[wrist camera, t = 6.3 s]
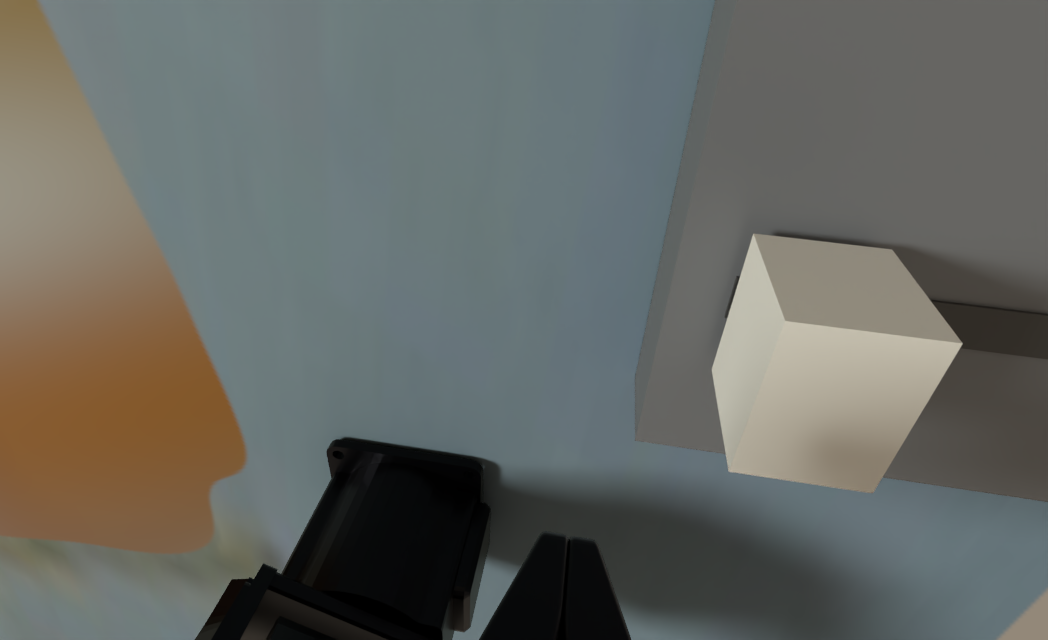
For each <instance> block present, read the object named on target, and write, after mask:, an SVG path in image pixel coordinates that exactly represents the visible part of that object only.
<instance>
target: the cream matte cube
mask: <svg viewBox="0 0 1048 640" xmlns="http://www.w3.org/2000/svg"><path fill="white" fill-rule="evenodd" d="M962 344H963V343H962V342H961V341H960V339H959V338H958V337H957V335H956V334H955V333H954V331H953V330H952V329H951V327H950V326H949V325H948V323H947V322H946V321H945V319H944V318H943V317H942V315H941V314H940V313H939V311H938V310H937V309H936V307H935V306H934V305H933V303H932V302H931V301H930V299H929V298H928V297H927V295H926V294H925V293H924V291H923V290H922V289H921V287H920V286H919V285H918V283H917V282H916V281H915V279H914V278H913V277H912V275H911V274H910V273H909V271H908V270H907V269H906V267H905V266H904V265H903V263H902V262H901V261H900V259H899V258H898V257H897V255H896V254H895V253H894V251H893V250H892V249H884V248H875V247H866V246H858V245H849V244H840V243H832V242H823V241H814V240H806V239H797V238H788V237H780V236H771V235H762V234H753V236H752V240H751V243H750V246H749V249H748V253H747V256H746V259H745V262H744V266H743V269H742V272H741V275H740V279H739V282H738V285H737V288H736V292H735V295H734V298H733V302H732V305H731V308H730V311H729V315H728V318H727V321H726V324H725V328H724V331H723V334H722V337H721V341H720V344H719V347H718V350H717V354H716V357H715V360H714V363H713V367H712V375H713V381H714V387H715V393H716V399H717V405H718V411H719V417H720V423H721V429H722V435H723V441H724V447H725V453H726V459H727V465H728V471H729V472H735V473H742V474H748V475H755V476H761V477H768V478H775V479H781V480H788V481H794V482H801V483H808V484H814V485H821V486H828V487H834V488H841V489H847V490H854V491H861V492H867V493H873V492H874V490H875V489H876V487H877V485H878V484H879V482H880V480H881V479H882V477H883V475H884V474H885V472H886V470H887V469H888V467H889V466H890V464H891V462H892V461H893V459H894V457H895V456H896V454H897V452H898V451H899V449H900V447H901V446H902V444H903V442H904V441H905V439H906V437H907V436H908V434H909V432H910V431H911V429H912V427H913V426H914V424H915V422H916V421H917V419H918V417H919V416H920V414H921V412H922V411H923V409H924V407H925V406H926V404H927V402H928V401H929V399H930V397H931V396H932V394H933V392H934V391H935V389H936V387H937V386H938V384H939V382H940V381H941V379H942V377H943V376H944V374H945V372H946V371H947V369H948V367H949V366H950V364H951V362H952V361H953V359H954V357H955V356H956V354H957V353H958V351H959V349H960V348H961V346H962Z"/></svg>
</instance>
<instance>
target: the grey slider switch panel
mask: <svg viewBox="0 0 1048 640" xmlns="http://www.w3.org/2000/svg"><path fill="white" fill-rule="evenodd" d="M753 234H762V235H771V236H780V237H788V238H797V239H806V240H814V241H823V242H832V243H840V244H849V245H858V246H866V247H875V248H884V249H892V250H893V251H894V253H895V254H896V255H897V257H898V258H899V259H900V261H901V262H902V263H903V265H904V266H905V267H906V269H907V270H908V271H909V273H910V274H911V275H912V277H913V278H914V279H915V281H916V282H917V283H918V285H919V286H920V287H921V289H922V290H923V291H924V293H925V294H926V295H927V297H928V298H929V299H930V301H931V302H932V303H933V305H934V306H935V307H936V309H937V310H938V311H939V313H940V314H941V315H942V317H943V318H944V319H945V321H946V322H947V323H948V325H949V326H950V327H951V329H952V330H953V331H954V333H955V334H956V335H957V337H958V338H959V339H960V341H961V342H962V343H963V344H962V346H961V348H960V349H959V351H958V353H957V354H956V356H955V357H954V359H953V361H952V362H951V364H950V366H949V367H948V369H947V371H946V372H945V374H944V376H943V377H942V379H941V381H940V382H939V384H938V386H937V387H936V389H935V391H934V392H933V394H932V396H931V397H930V399H929V401H928V402H927V404H926V406H925V407H924V409H923V411H922V412H921V414H920V416H919V417H918V419H917V421H916V422H915V424H914V426H913V427H912V429H911V431H910V432H909V434H908V436H907V437H906V439H905V441H904V442H903V444H902V446H901V447H900V449H899V451H898V452H897V454H896V456H895V457H894V459H893V461H892V462H891V464H890V466H889V467H888V469H887V470H886V472H885V474H884V475H883V477H884V478H891V479H898V480H904V481H911V482H918V483H924V484H931V485H938V486H945V487H951V488H958V489H965V490H971V491H978V492H985V493H992V494H998V495H1005V496H1012V497H1019V498H1025V499H1032V500H1039V501H1045V502H1048V0H715V4H714V9H713V13H712V18H711V23H710V28H709V32H708V37H707V42H706V46H705V51H704V56H703V61H702V65H701V70H700V75H699V79H698V84H697V89H696V93H695V98H694V103H693V108H692V112H691V117H690V122H689V126H688V131H687V136H686V140H685V145H684V150H683V155H682V159H681V164H680V169H679V173H678V178H677V183H676V187H675V192H674V197H673V202H672V206H671V211H670V216H669V220H668V225H667V230H666V234H665V239H664V244H663V249H662V253H661V258H660V263H659V267H658V272H657V277H656V281H655V286H654V291H653V296H652V300H651V305H650V310H649V314H648V319H647V324H646V328H645V333H644V338H643V343H642V347H641V352H640V357H639V361H638V366H637V371H636V375H635V441H642V442H649V443H655V444H662V445H669V446H676V447H682V448H689V449H696V450H703V451H709V452H716V453H723V454H726V453H725V447H724V441H723V435H722V429H721V423H720V417H719V411H718V405H717V399H716V393H715V387H714V381H713V375H712V367H713V363H714V360H715V357H716V354H717V350H718V347H719V344H720V341H721V337H722V334H723V331H724V328H725V324H726V321H727V318H728V315H729V311H730V308H731V305H732V302H733V298H734V295H735V292H736V288H737V285H738V282H739V279H740V275H741V272H742V269H743V266H744V262H745V259H746V256H747V253H748V249H749V246H750V243H751V240H752V236H753Z"/></svg>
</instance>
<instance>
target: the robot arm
mask: <svg viewBox="0 0 1048 640" xmlns="http://www.w3.org/2000/svg"><path fill="white" fill-rule="evenodd" d="M327 457H328V462H329V467H330V472H331V478H332V479H331V481H330V482H329V484H328V486H327V488H326V490H325V492H324V494H323V496H322V498H321V499H320V501H319V503H318V505H317V507H316V509H315V511H314V513H313V515H312V517H311V518H310V520H309V522H308V524H307V526H306V528H305V530H304V532H303V534H302V535H301V537H300V539H299V541H298V543H297V545H296V547H295V549H294V551H293V552H292V554H291V556H290V558H289V560H288V562H287V564H286V566H285V568H284V569H283V571H282V573H281V574H280V573H277V570H278V569H275V568H273V567H271V566H268V565H266V564H264V563H263V565H262V566H261V568H260V570H259V572H258V573H257V575H256V577H255V579H252V578H250V577H249V579H233V580H231V582H230V583H229V585H228V587H227V588H226V590H225V592H224V594H223V595H222V597H221V599H220V600H219V602H218V604H217V605H216V607H215V609H214V610H213V612H212V614H211V615H210V617H209V618H208V620H207V622H206V623H205V625H204V626H203V628H202V630H201V631H200V633H199V634H198V636H197V637H196V639H195V640H452V638H453V634H454V631H460V632H465V631H466V630H468V629H469V628H470V626H471V622H472V618H473V613H474V609H475V604H476V600H477V596H478V591H479V587H480V582H481V578H482V574H483V569H484V565H485V560H486V556H487V552H488V547H489V542H490V515H491V509H490V507H489V506H488V504H487V503H482V498H483V468H482V466H481V465H480V463H478V462H476V461H474V460H469V459H463V458H456V457H450V456H443V455H437V454H431V453H424V452H418V451H411V450H405V449H398V448H392V447H386V446H379V445H373V444H366V443H360V442H353V441H347V440H338V439H336V440H334V441H332V442H331V444H330V446H329V448H328V449H327ZM468 471H469V472H468ZM479 640H631V637H630V635H629V632H628V629H627V626H626V623H625V620H624V617H623V614H622V611H621V608H620V606H619V603H618V600H617V597H616V594H615V591H614V588H613V585H612V582H611V580H610V577H609V574H608V571H607V568H606V565H605V562H604V559H603V556H602V554H601V551H600V548H599V546H598V544H597V542H596V541H594V540H592V539H586V538H580V537H571V538H570V539H568V537H567V536H566V535H564V534H558V533H552V532H547V531H545V532H543V533H541V534H540V536H539V537H538V539H537V541H536V542H535V544H534V546H533V548H532V549H531V551H530V553H529V555H528V556H527V558H526V560H525V561H524V563H523V565H522V567H521V568H520V570H519V572H518V573H517V575H516V577H515V579H514V580H513V582H512V584H511V585H510V587H509V589H508V591H507V592H506V594H505V596H504V598H503V599H502V601H501V603H500V604H499V606H498V608H497V610H496V611H495V613H494V615H493V616H492V618H491V620H490V622H489V623H488V625H487V627H486V628H485V630H484V632H483V634H482V635H481V637H480V639H479Z"/></svg>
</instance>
